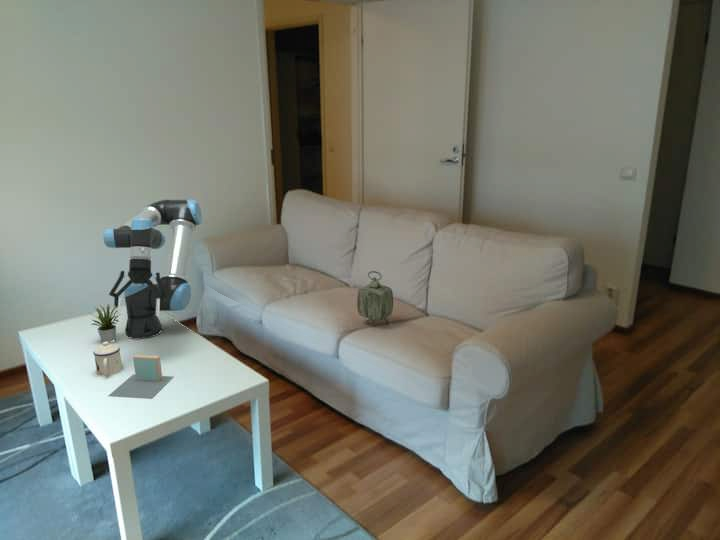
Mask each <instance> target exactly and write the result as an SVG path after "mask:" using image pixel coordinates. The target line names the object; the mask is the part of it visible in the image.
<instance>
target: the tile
mask: <svg viewBox="0 0 720 540" xmlns="http://www.w3.org/2000/svg"><path fill="white" fill-rule="evenodd" d="M132 361H133V367H134V374H135V375H136V380H145V381H161V380H162V379H163V378H162V376H163V372H162V363H161V357H160V355H150V354H149V355H147V354H135V355H134V356H133V357H132Z"/></svg>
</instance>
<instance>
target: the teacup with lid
mask: <svg viewBox="0 0 720 540" xmlns="http://www.w3.org/2000/svg"><path fill="white" fill-rule="evenodd" d="M92 352H93V353H92V355H94V361H95V368H96V373H97V374H98V376H103V377H104V376H105V377H106V376H111V375H116V374H118V373H119V372H121V371H122V370H123V364H122V358H121V356H122V355H121V347H120V345H119V344H115V343H109V342H103V343H102V344H101V345H98V346H97V347H95V348H94V350H93V351H92Z"/></svg>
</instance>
